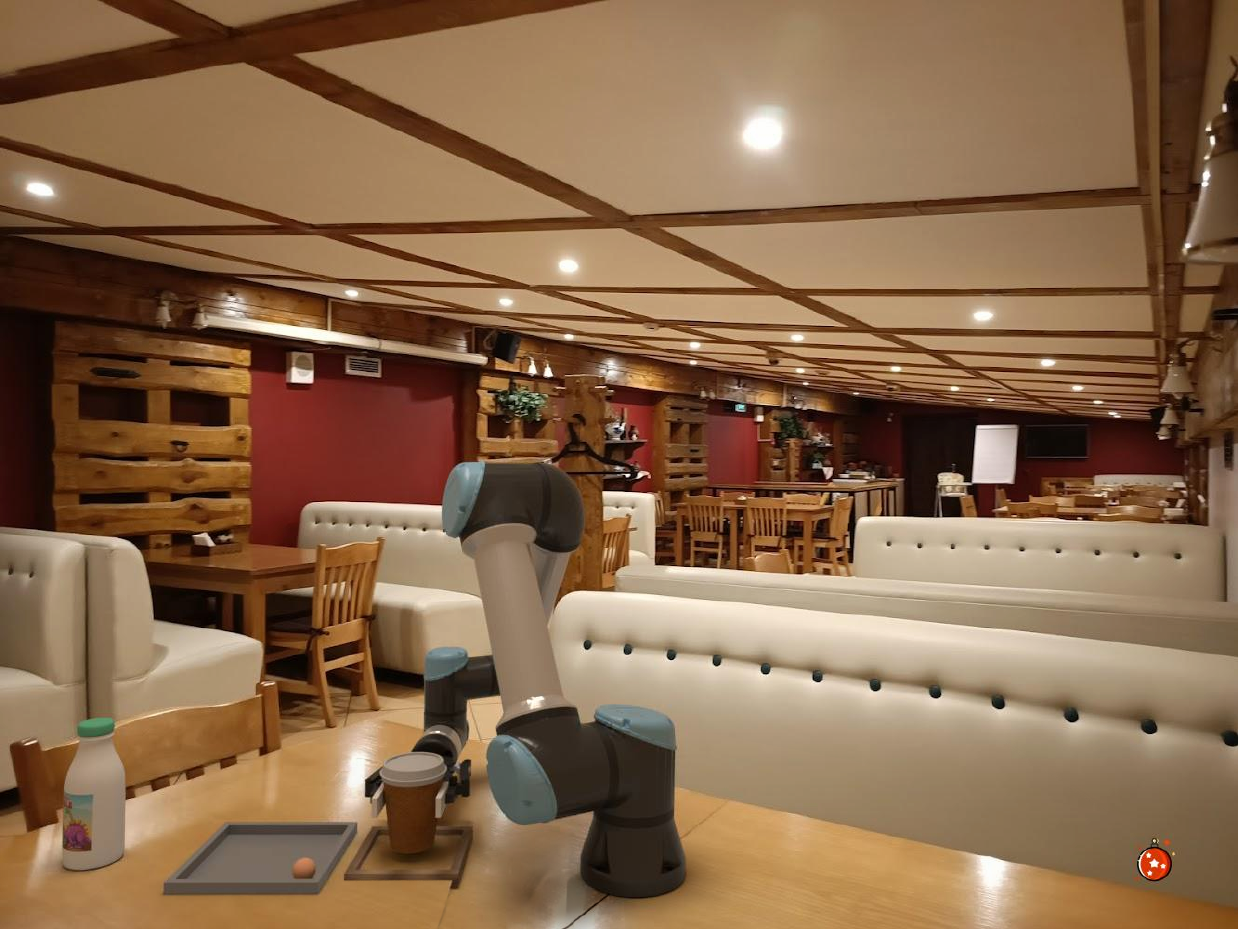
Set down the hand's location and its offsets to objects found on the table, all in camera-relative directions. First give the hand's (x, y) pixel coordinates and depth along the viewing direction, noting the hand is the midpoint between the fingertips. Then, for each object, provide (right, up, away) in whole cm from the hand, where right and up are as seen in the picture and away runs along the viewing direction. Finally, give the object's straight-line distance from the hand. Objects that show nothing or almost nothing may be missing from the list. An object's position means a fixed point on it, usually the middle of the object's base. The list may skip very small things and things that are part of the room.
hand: (406, 808), depth 120 cm
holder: (0, -10, +5) cm, 11 cm away
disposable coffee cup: (0, -7, +5) cm, 9 cm away
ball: (-13, -8, -4) cm, 16 cm away
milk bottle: (-46, -9, +4) cm, 47 cm away
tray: (-20, -9, +2) cm, 22 cm away
